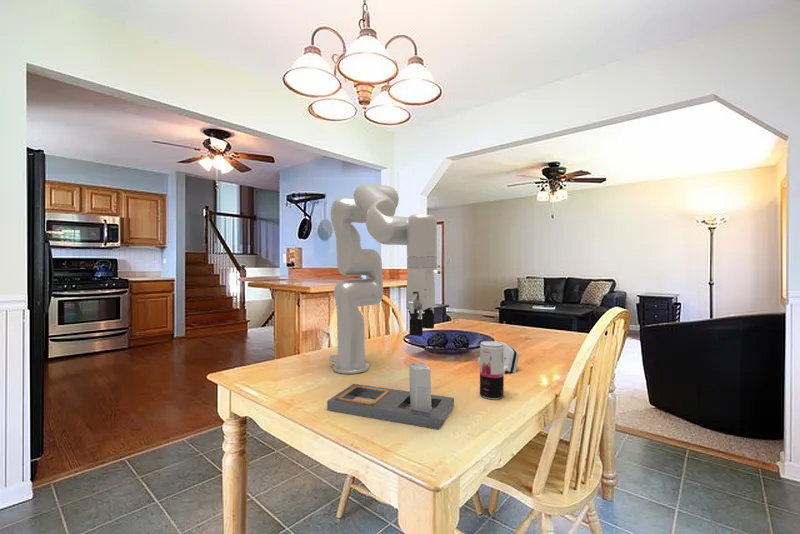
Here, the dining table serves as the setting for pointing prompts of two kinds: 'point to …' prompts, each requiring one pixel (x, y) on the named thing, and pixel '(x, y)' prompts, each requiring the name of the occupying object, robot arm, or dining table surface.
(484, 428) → the dining table surface
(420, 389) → the skincare box
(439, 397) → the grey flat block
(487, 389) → the beverage can
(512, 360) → the white curved block
